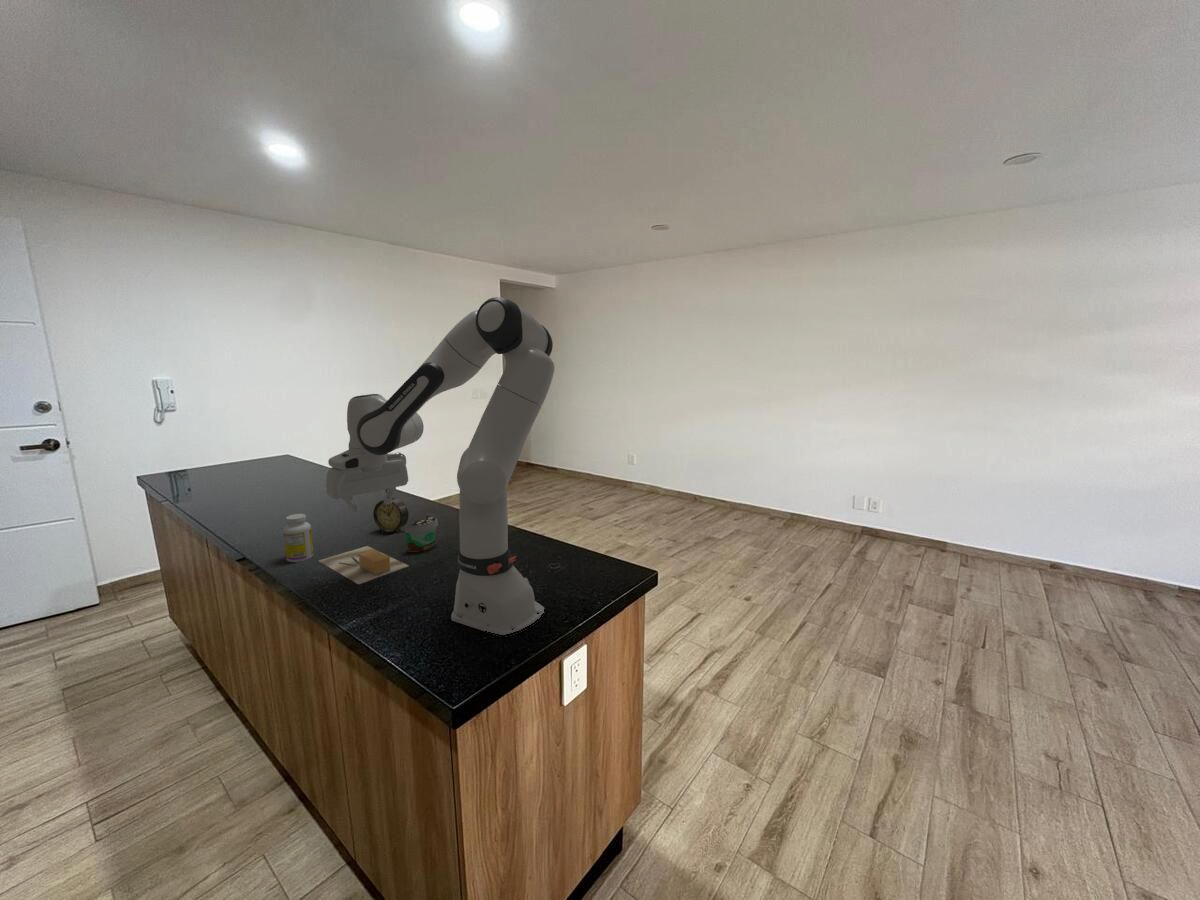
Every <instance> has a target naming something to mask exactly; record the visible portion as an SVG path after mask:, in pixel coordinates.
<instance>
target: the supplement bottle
mask: <svg viewBox="0 0 1200 900" xmlns="http://www.w3.org/2000/svg"><path fill="white" fill-rule="evenodd" d="M285 520H286V521H285V522H286V523H287V525H285V526H284V527H283V529H282V531H283V539H284V550H285V559H286V562H289V563H301V562H300V561H302V562H305V561H308V560H310V559H312V558H313V556H314V546H313V545H314V544H313V536H312V535H313V534H312V526H311V524H310V523H309V522H307V517H306V514H305V513H295V514H290V515H288V516H286V519H285Z"/></svg>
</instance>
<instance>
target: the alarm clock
mask: <svg viewBox="0 0 1200 900" xmlns="http://www.w3.org/2000/svg"><path fill="white" fill-rule="evenodd" d="M385 492H386V495H387V494H388V490H387V489H385ZM372 514H373V521H374V522H375V524H376V526H377V527H378V528H379V530H378V532H379V533H381V532H382V531H383V532H386V533H393V532H396V531H398V532H399V533H402V528H403V527H405V525H407V523H408V520H409V509H408V506H407V505H406V504H405V502H404V501H402V500H401V499H399V498H396V497H392V504H388V505H386V504H384V499H382V500H380V501H379V502H377V503H376V504H375V506H374V508H373V513H372Z"/></svg>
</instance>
